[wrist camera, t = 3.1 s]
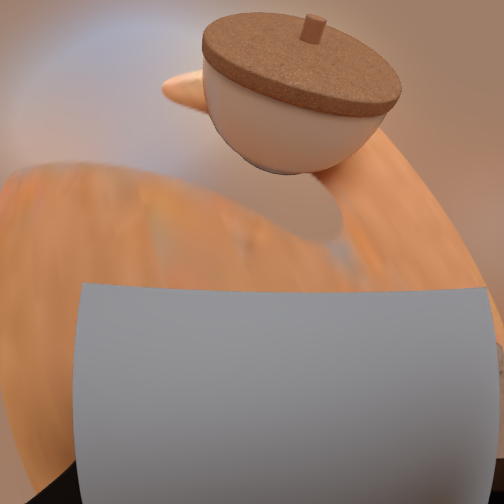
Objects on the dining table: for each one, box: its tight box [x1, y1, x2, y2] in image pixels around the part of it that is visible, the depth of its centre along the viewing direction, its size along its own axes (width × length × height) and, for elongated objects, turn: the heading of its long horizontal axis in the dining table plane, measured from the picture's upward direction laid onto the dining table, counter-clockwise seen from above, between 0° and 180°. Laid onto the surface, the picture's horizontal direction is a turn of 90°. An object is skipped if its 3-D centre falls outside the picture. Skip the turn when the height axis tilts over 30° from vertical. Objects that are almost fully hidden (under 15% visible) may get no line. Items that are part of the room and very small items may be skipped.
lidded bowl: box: [202, 12, 402, 175], centre depth 17 cm, size 13×13×11 cm
